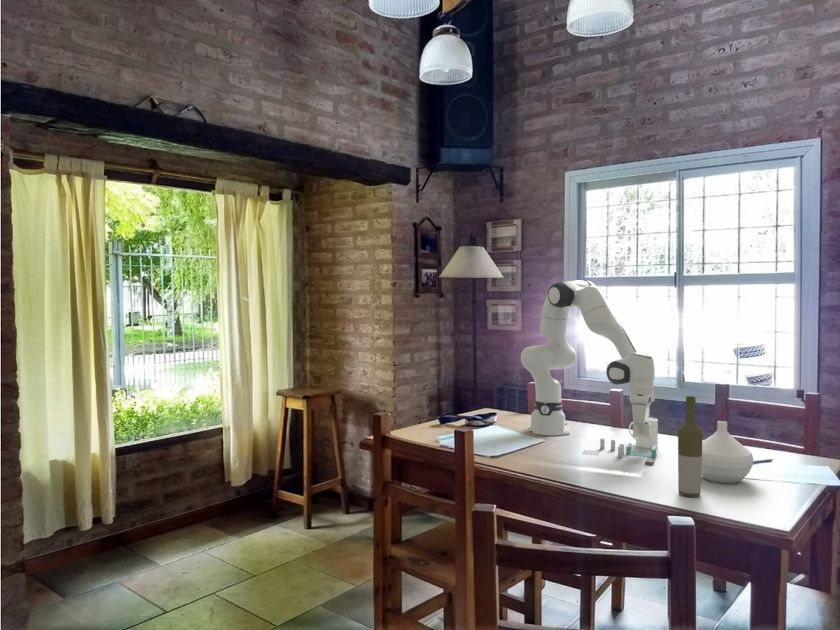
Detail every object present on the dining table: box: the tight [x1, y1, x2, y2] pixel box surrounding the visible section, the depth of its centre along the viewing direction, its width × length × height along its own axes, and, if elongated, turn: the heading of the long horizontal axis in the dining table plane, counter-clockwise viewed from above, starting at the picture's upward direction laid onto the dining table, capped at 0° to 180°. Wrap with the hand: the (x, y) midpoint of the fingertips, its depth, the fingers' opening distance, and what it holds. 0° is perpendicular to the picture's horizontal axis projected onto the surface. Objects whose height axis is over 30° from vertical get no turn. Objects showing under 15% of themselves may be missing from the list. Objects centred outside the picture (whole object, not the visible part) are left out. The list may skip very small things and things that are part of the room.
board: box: [581, 438, 658, 466], centre depth 234 cm, size 15×26×5 cm, turn 65°
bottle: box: [677, 396, 704, 498], centre depth 188 cm, size 7×7×30 cm
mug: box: [628, 416, 659, 452], centre depth 247 cm, size 12×8×12 cm
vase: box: [701, 420, 754, 484], centre depth 204 cm, size 18×18×19 cm
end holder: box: [625, 442, 657, 458], centre depth 233 cm, size 7×10×3 cm
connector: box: [632, 422, 651, 438], centre depth 232 cm, size 4×6×5 cm, turn 64°
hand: (641, 432), depth 232 cm, fingers closed on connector, 4 cm apart
